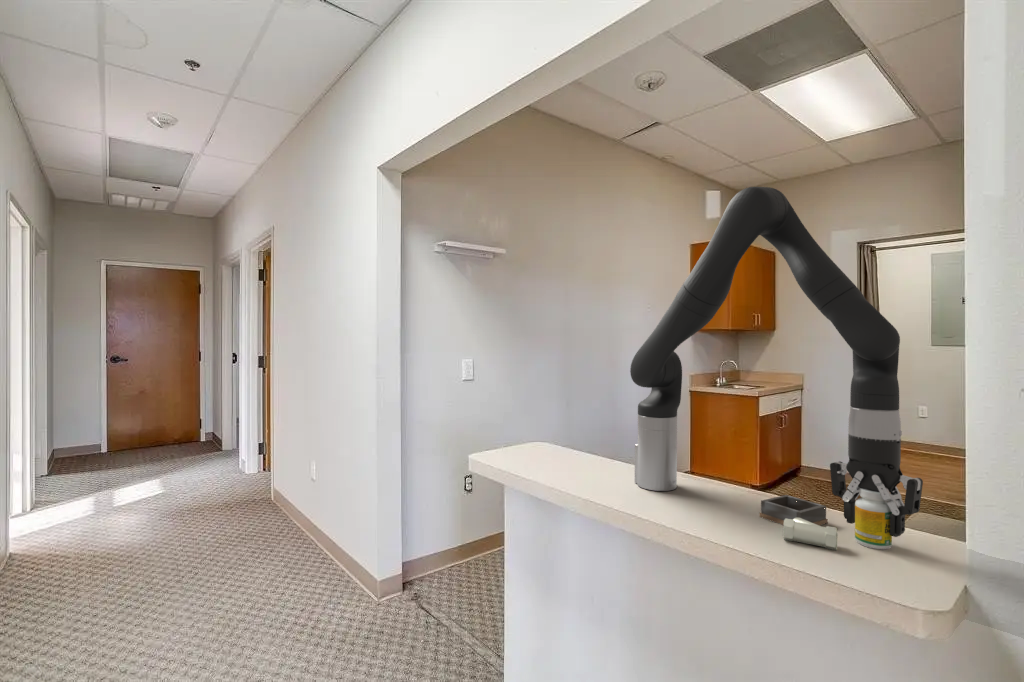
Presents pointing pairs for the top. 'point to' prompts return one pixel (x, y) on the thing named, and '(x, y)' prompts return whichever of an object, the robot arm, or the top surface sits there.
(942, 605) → the top surface
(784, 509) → the square holder
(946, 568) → the top surface
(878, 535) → the supplement bottle
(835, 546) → the pipe fitting
